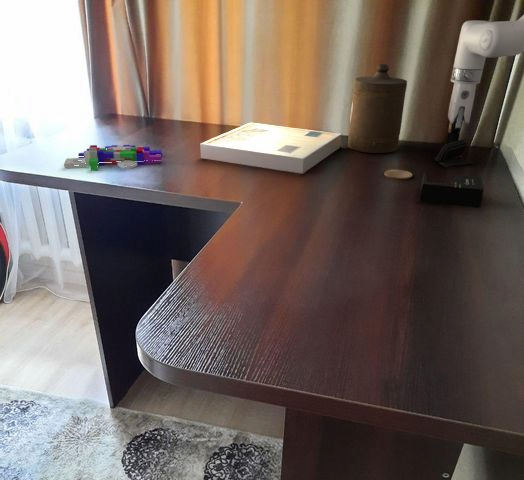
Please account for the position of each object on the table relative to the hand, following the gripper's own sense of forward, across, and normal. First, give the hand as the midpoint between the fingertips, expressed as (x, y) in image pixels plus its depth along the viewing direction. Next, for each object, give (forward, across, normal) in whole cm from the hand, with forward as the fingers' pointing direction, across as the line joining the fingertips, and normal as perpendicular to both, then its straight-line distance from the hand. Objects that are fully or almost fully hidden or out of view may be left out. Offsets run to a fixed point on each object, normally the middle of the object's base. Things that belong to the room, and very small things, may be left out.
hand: (450, 147), depth 145 cm
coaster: (+2, -23, +15) cm, 28 cm away
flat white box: (+2, -9, +50) cm, 51 cm away
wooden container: (+2, +4, +22) cm, 22 cm away
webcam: (+2, -8, 0) cm, 8 cm away
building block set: (+2, -26, +91) cm, 95 cm away
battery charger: (+2, -38, +4) cm, 39 cm away
